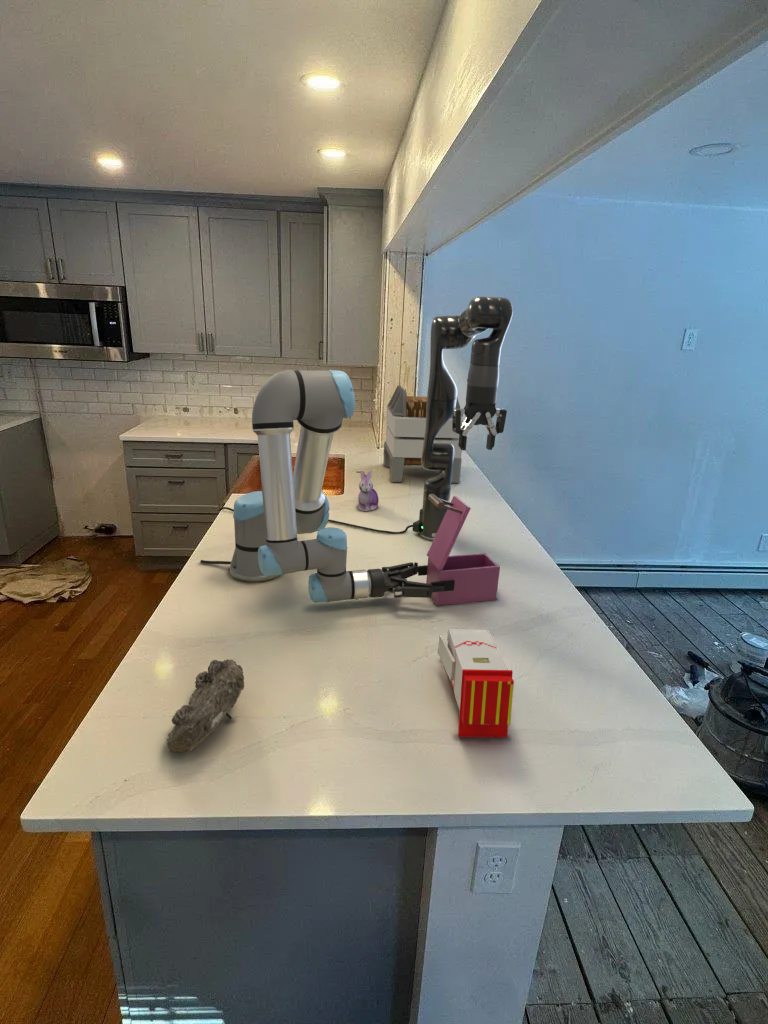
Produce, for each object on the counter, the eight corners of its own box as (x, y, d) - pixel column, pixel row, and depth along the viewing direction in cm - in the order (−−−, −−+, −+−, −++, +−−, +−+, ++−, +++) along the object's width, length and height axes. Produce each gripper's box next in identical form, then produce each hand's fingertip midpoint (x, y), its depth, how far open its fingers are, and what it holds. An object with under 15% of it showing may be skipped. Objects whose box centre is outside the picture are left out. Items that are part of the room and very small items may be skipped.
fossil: (192, 660, 117) (244, 628, 112) (224, 691, 120) (276, 661, 115) (142, 746, 98) (202, 712, 93) (182, 779, 101) (242, 748, 96)
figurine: (362, 513, 218) (363, 475, 213) (351, 505, 226) (352, 468, 221) (384, 510, 222) (385, 473, 217) (372, 502, 230) (374, 466, 225)
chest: (481, 584, 166) (485, 552, 162) (496, 599, 157) (500, 566, 154) (425, 589, 161) (428, 557, 158) (437, 605, 152) (440, 571, 149)
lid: (456, 496, 153) (430, 487, 150) (470, 508, 145) (443, 498, 142) (429, 556, 158) (403, 547, 154) (441, 570, 149) (414, 562, 146)
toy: (488, 613, 130) (523, 677, 101) (484, 667, 133) (517, 744, 104) (435, 612, 130) (455, 676, 101) (432, 666, 133) (451, 743, 103)
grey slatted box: (382, 463, 289) (386, 382, 275) (445, 464, 293) (451, 384, 279) (390, 482, 257) (394, 392, 243) (460, 483, 261) (468, 394, 247)
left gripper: (358, 578, 161) (432, 571, 167) (377, 617, 141) (461, 608, 147) (358, 553, 159) (434, 548, 164) (379, 590, 139) (463, 582, 145)
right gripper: (461, 385, 134) (455, 453, 140) (516, 385, 138) (508, 452, 144) (449, 381, 141) (444, 446, 147) (502, 381, 145) (495, 445, 150)
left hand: (446, 576), depth 156 cm, fingers closed on chest, 9 cm apart
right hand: (476, 449), depth 145 cm, fingers open, 6 cm apart
